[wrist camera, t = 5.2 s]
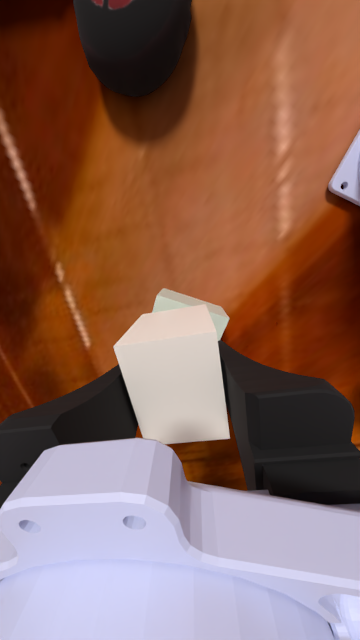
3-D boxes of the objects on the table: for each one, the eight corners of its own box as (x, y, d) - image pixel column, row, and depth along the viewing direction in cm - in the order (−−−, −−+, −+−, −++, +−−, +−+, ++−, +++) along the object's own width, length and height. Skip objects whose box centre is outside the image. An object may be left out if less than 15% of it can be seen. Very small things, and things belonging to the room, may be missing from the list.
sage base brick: (220, 306, 18) (229, 318, 14) (200, 355, 20) (203, 378, 16) (163, 287, 17) (157, 294, 14) (149, 339, 19) (139, 359, 15)
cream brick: (205, 304, 12) (216, 331, 7) (215, 377, 14) (229, 438, 9) (142, 314, 12) (113, 346, 8) (160, 384, 14) (145, 446, 9)
